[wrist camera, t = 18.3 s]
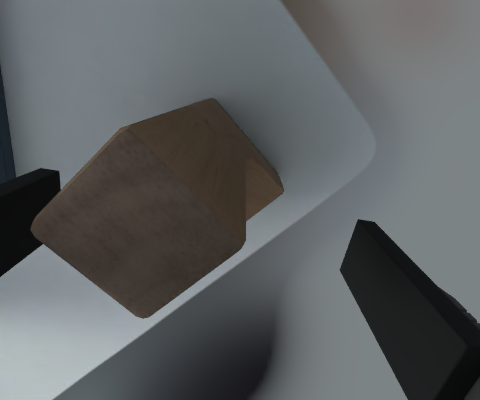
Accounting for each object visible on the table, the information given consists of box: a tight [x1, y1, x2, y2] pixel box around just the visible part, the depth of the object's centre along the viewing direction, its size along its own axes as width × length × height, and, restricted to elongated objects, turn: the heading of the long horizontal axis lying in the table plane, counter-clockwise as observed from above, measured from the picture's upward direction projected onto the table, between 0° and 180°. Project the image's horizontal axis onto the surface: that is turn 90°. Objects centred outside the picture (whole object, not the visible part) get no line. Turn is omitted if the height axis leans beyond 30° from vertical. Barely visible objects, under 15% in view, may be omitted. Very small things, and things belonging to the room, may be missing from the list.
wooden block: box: [30, 98, 284, 319], centre depth 17 cm, size 9×4×18 cm, turn 41°
